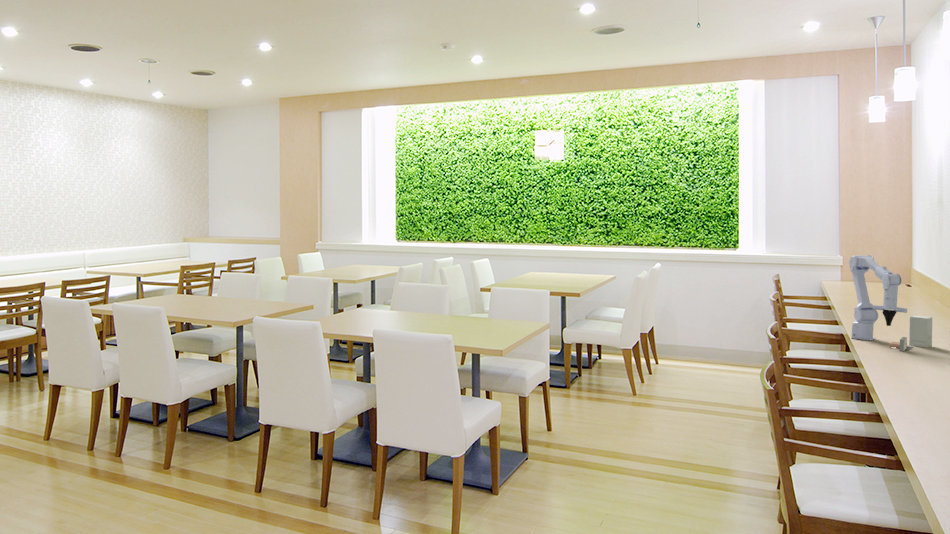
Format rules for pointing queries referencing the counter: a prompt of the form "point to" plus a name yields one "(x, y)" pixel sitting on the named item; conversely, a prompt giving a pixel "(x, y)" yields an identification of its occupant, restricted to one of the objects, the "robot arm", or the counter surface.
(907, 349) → the rubber mat
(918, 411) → the counter surface
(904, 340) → the slate tile
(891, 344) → the terracotta tile
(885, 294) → the robot arm
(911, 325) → the skincare box
